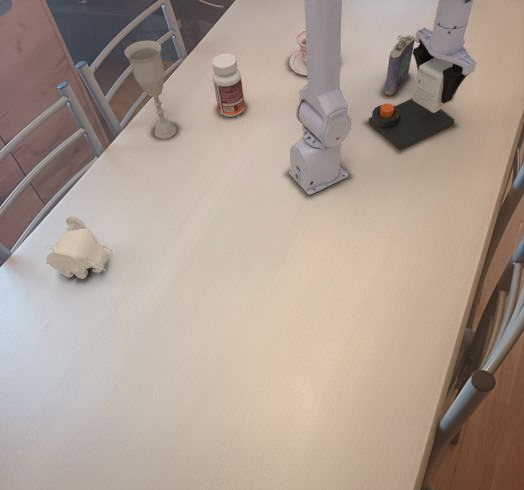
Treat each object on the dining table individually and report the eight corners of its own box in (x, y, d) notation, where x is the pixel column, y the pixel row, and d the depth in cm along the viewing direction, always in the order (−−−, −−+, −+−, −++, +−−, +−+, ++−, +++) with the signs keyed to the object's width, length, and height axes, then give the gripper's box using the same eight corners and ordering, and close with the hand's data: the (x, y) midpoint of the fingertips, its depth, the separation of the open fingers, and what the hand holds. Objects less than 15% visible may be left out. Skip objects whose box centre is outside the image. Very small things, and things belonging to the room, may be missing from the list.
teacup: (281, 58, 123) (279, 32, 118) (323, 43, 125) (324, 17, 120) (303, 83, 118) (303, 56, 112) (347, 67, 119) (349, 40, 114)
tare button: (384, 120, 105) (385, 113, 103) (376, 113, 106) (377, 106, 105) (395, 115, 105) (396, 108, 104) (387, 108, 106) (388, 101, 105)
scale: (398, 151, 103) (400, 139, 101) (366, 123, 109) (367, 110, 106) (453, 125, 106) (456, 112, 103) (419, 99, 111) (421, 86, 109)
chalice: (183, 121, 114) (164, 39, 99) (178, 141, 111) (157, 59, 95) (153, 121, 115) (128, 41, 99) (146, 141, 112) (120, 60, 96)
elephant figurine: (107, 290, 91) (89, 258, 83) (48, 284, 93) (24, 252, 85) (124, 250, 95) (108, 216, 88) (67, 245, 97) (46, 211, 90)
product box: (411, 100, 103) (418, 65, 97) (432, 88, 104) (440, 52, 98) (433, 114, 100) (442, 78, 94) (454, 101, 102) (464, 65, 95)
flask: (392, 98, 112) (399, 49, 103) (380, 94, 113) (386, 46, 104) (410, 76, 116) (418, 27, 107) (398, 73, 117) (406, 24, 108)
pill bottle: (250, 108, 115) (245, 58, 105) (230, 121, 113) (223, 72, 103) (232, 97, 117) (225, 48, 107) (212, 110, 115) (204, 61, 105)
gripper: (497, 30, 86) (475, 102, 98) (442, -4, 93) (427, 68, 105) (465, 44, 85) (446, 116, 97) (411, 9, 92) (400, 80, 103)
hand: (434, 92), depth 101 cm, fingers closed on product box, 6 cm apart
